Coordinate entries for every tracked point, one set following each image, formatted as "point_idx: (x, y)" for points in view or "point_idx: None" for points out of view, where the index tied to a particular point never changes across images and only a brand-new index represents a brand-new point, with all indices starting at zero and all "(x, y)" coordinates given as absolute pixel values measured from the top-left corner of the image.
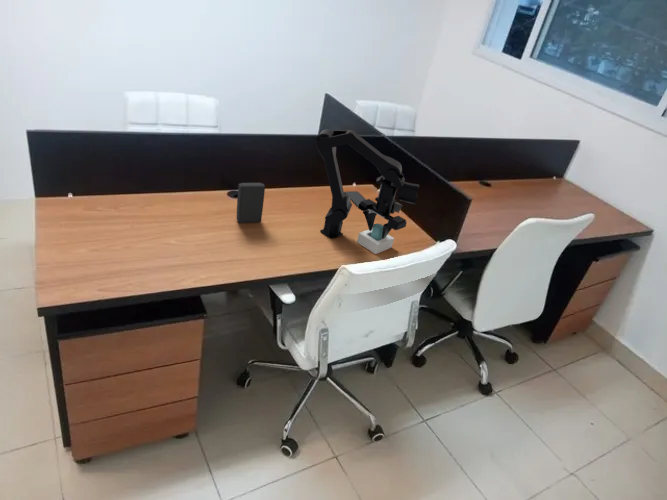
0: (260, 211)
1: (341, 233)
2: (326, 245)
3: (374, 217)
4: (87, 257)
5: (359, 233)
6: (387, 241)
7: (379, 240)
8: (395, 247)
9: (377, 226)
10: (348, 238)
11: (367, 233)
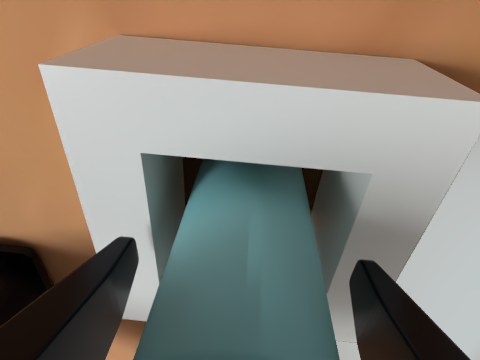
0: None
1: (18, 258)
2: (113, 352)
3: None
4: None
5: (124, 316)
6: (416, 234)
7: (333, 292)
8: (459, 9)
9: None
10: (84, 247)
11: (159, 279)
